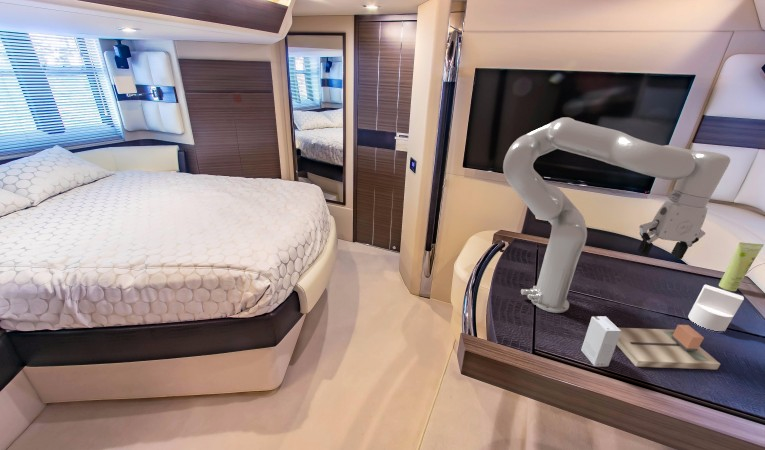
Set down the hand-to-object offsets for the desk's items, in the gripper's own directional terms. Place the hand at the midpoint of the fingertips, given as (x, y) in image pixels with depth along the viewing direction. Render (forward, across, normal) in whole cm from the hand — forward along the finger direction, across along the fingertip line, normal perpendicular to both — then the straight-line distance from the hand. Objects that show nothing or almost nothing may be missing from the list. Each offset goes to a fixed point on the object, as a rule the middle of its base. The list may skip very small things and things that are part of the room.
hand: (659, 255), depth 92 cm
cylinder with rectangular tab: (+24, +28, +3) cm, 37 cm away
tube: (+23, +55, +24) cm, 64 cm away
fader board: (+25, +3, -11) cm, 27 cm away
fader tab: (+22, +9, -11) cm, 26 cm away
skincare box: (+26, -18, -16) cm, 35 cm away
